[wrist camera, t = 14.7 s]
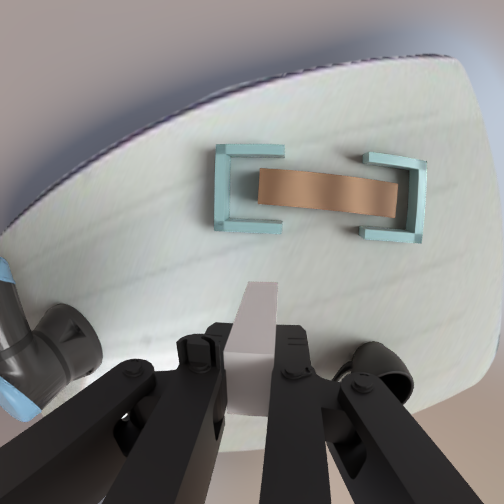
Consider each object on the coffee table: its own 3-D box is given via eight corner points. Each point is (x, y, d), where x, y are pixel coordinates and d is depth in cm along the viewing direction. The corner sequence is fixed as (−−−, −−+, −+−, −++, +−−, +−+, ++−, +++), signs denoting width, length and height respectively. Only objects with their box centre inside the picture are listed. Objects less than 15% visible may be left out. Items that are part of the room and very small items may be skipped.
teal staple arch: (220, 227, 36) (214, 230, 33) (221, 147, 34) (215, 144, 31) (281, 230, 35) (281, 234, 32) (284, 148, 33) (284, 144, 30)
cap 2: (417, 162, 31) (426, 161, 28) (412, 239, 33) (421, 243, 30) (362, 154, 32) (369, 151, 29) (358, 235, 34) (364, 239, 31)
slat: (261, 201, 35) (257, 203, 31) (263, 170, 34) (259, 168, 30) (382, 214, 33) (394, 217, 29) (385, 184, 32) (398, 183, 28)
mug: (317, 343, 38) (323, 384, 29) (395, 328, 36) (417, 364, 27) (321, 385, 40) (326, 427, 31) (392, 371, 38) (410, 408, 29)
